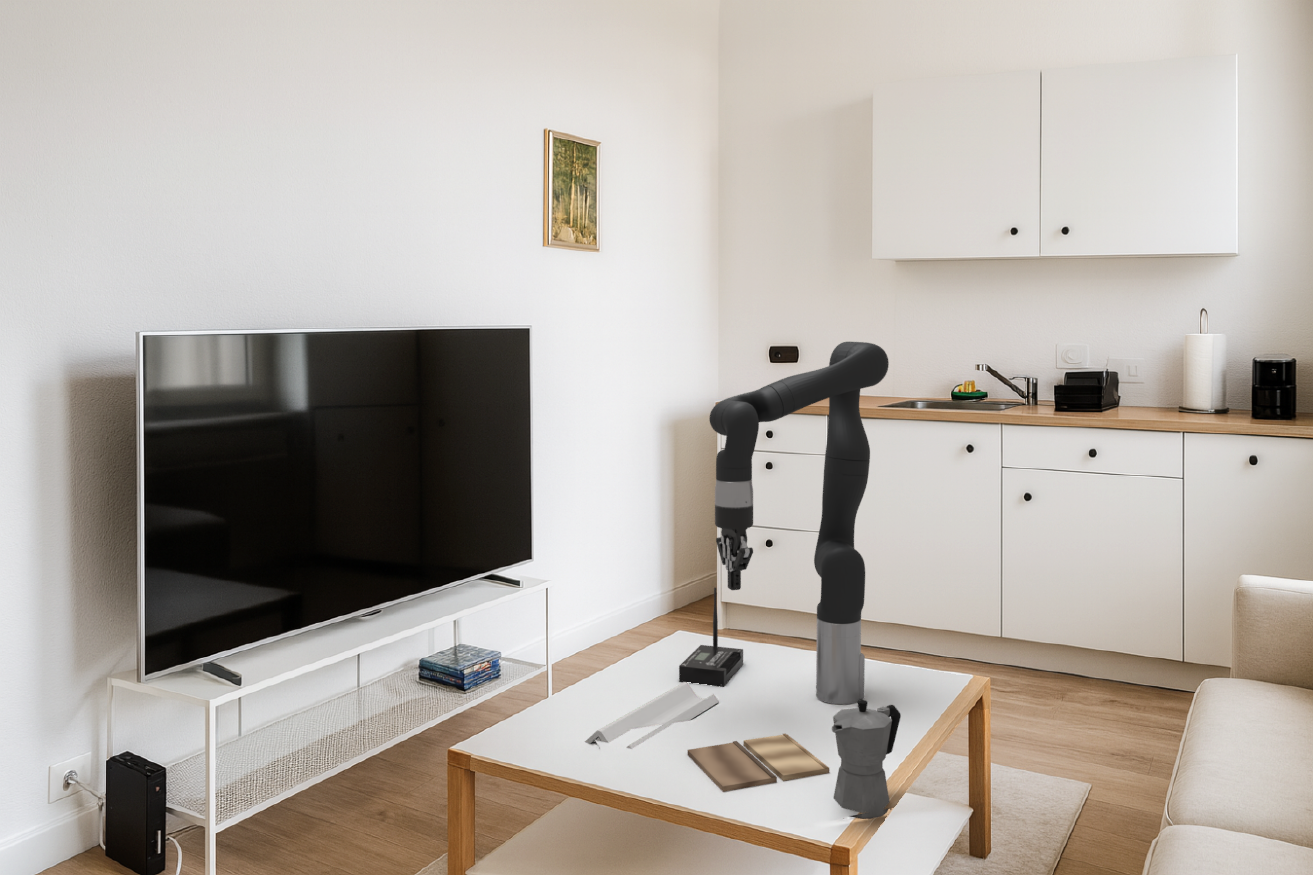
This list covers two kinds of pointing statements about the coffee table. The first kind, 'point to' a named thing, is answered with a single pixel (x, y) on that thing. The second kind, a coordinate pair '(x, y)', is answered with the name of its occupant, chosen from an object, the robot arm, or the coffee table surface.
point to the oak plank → (785, 757)
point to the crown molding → (657, 714)
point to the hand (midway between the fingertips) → (734, 588)
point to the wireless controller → (711, 661)
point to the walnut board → (731, 766)
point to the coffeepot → (864, 757)
